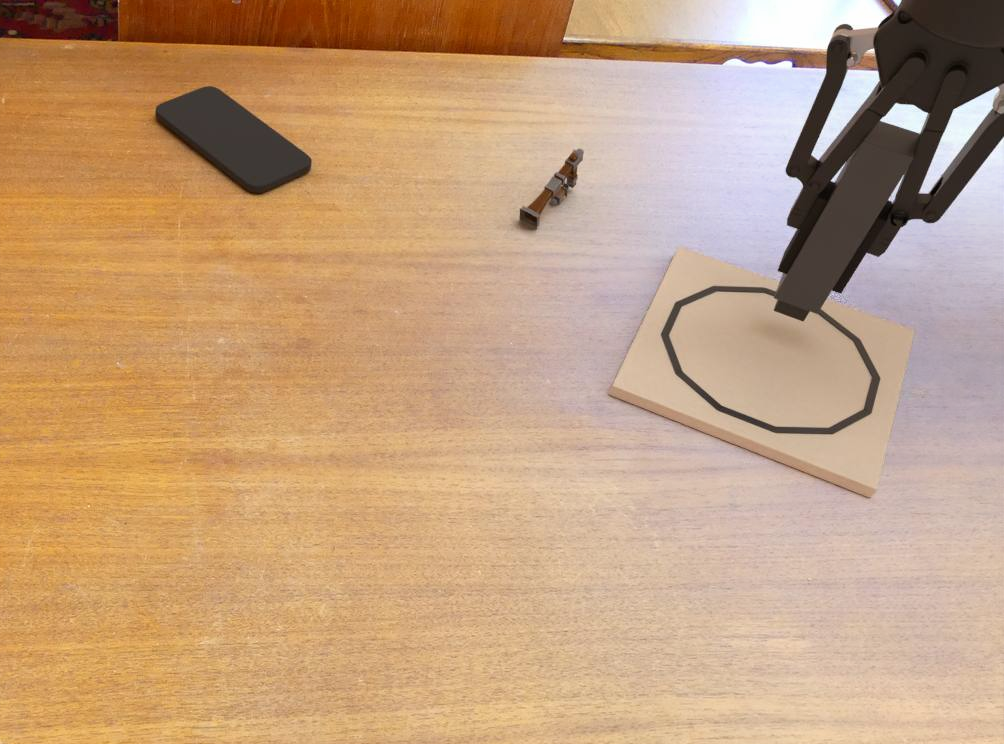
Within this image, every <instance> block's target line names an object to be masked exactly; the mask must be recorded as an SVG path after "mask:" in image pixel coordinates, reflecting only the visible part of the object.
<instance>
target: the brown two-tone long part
mask: <svg viewBox="0 0 1004 744" xmlns="http://www.w3.org/2000/svg"><path fill="white" fill-rule="evenodd" d="M584 153H585V150H584V149H583V148H582V147H581V148H580V147H579V148H577V149H573V150H572V152H571V153H570V154H569V156H568V157H567V158H566V159H565V160H564V164H563V165H562V167H561V168H560V169H559V171H555V172H554V173H553V176H551V178H550V180H549V181H548V182H547V183H546V184H545V186H544V187H543V190H542V192H541V193H540V194H539V195H538V196H537V197H536V198H535V199H534V200H533V201H532V202H531V203H530V204H529V205H527V207H526V206H525V205H522V206H521V207H519V216H518V218H519V219H518V220H519V221H520V222H521V223H524V224H525V225H527V226H529V227H531V228H532V229H535V230H537V229H538V227H539V226H540V216H541V215H542V213H543V212H544V209H545V208H546V206H547V204H548V203H549V202H550V204H551V205H552V206H556V204H558V205H561V202H562V200H563V199H564V198H565V197H566V198H567V197H568V192H569V188H571V189H574V188H575V186H576V185H577V181H578V178H579V175H578V166H579V165H580V163H581V162H583V159H584Z"/></svg>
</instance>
